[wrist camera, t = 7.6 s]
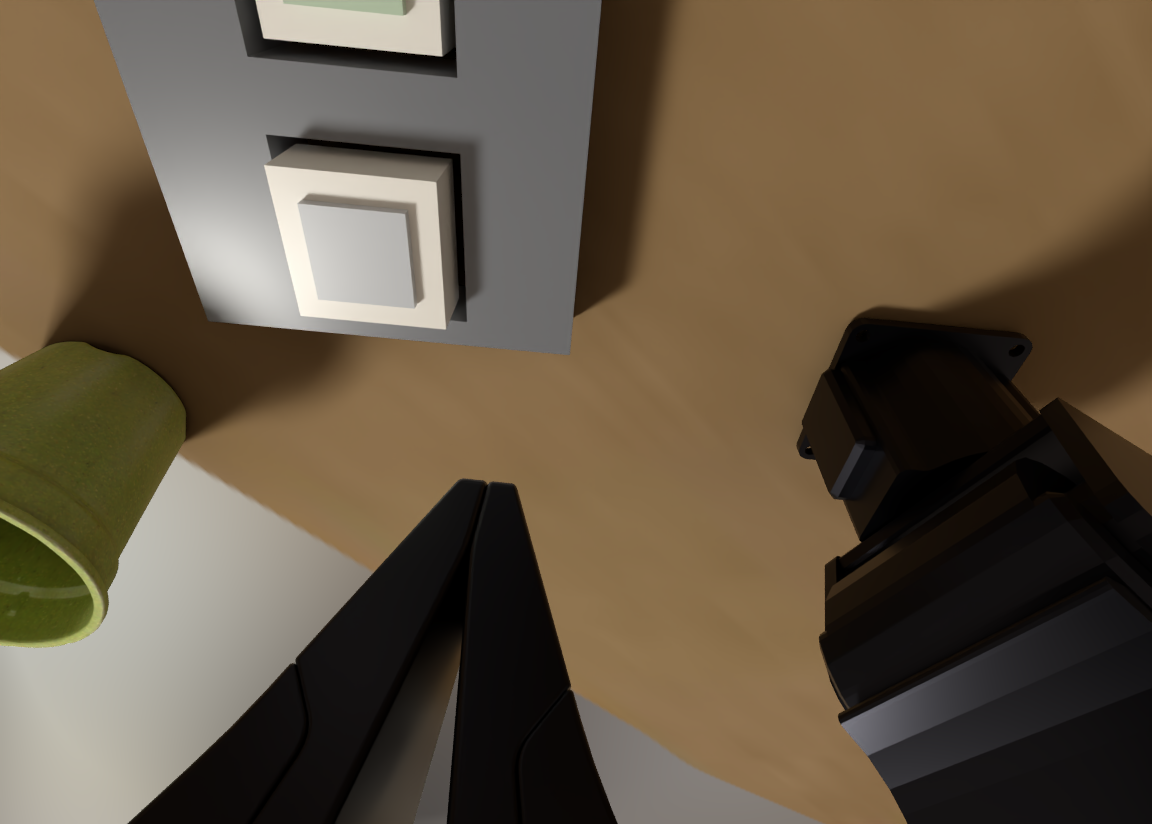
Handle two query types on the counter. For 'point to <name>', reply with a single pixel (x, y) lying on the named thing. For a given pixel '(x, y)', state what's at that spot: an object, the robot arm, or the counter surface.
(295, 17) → the key sage
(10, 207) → the counter surface
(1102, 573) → the robot arm
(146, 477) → the plant pot
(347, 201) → the key slate
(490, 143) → the gray key board
